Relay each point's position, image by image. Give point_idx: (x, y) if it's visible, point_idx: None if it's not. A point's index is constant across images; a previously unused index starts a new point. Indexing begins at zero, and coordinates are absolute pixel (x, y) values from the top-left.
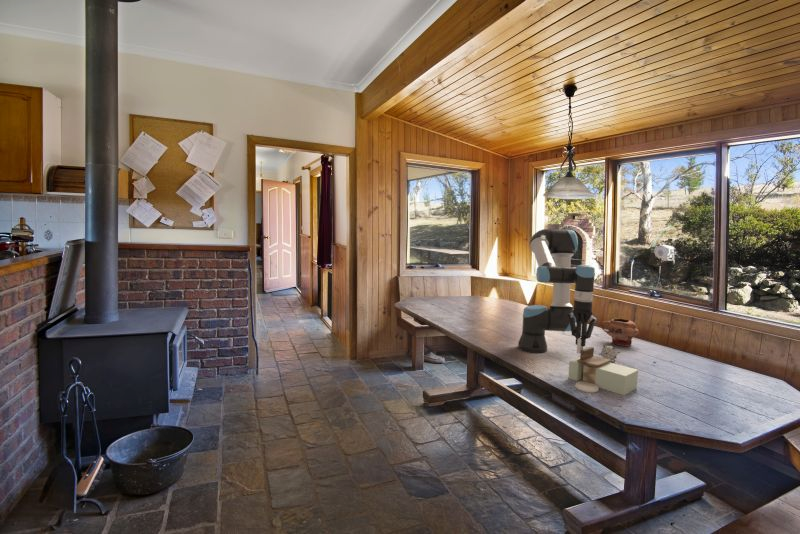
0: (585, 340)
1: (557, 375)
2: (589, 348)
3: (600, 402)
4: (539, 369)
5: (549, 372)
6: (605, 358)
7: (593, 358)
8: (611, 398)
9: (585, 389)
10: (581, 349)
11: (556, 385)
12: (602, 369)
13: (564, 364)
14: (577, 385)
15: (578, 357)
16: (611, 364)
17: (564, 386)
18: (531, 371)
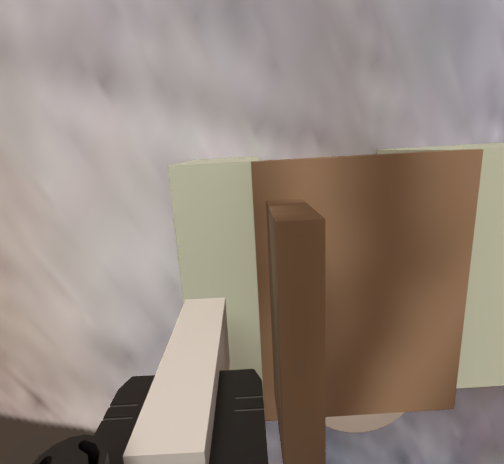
0: (266, 450)
1: (146, 335)
2: (307, 314)
3: (471, 460)
4: (18, 336)
5: (86, 331)
6: (425, 154)
7: (339, 264)
8: (492, 387)
9: (377, 427)
10: (225, 360)
11: None
12: (477, 383)
13: (15, 102)
14: (326, 418)
15: (182, 265)
16: (487, 197)
17: (269, 434)
18: (24, 398)
